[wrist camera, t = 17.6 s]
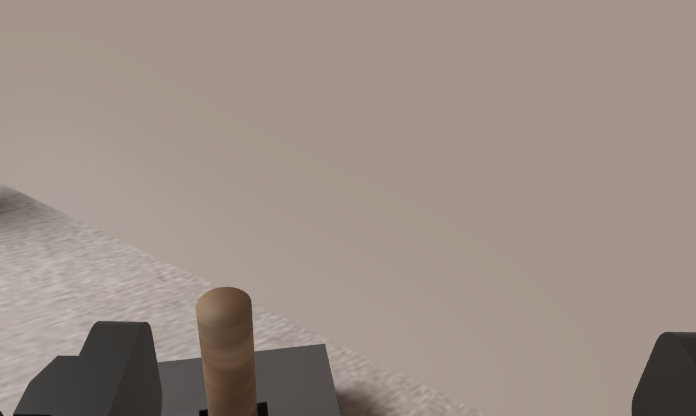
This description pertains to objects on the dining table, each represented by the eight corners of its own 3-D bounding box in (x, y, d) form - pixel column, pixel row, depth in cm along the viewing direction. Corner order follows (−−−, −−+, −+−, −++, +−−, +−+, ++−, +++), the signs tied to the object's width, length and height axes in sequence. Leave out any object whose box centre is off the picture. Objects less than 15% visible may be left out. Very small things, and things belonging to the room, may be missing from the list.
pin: (259, 459, 45) (249, 284, 36) (262, 498, 42) (253, 320, 34) (216, 465, 44) (195, 289, 36) (217, 505, 42) (195, 326, 33)
